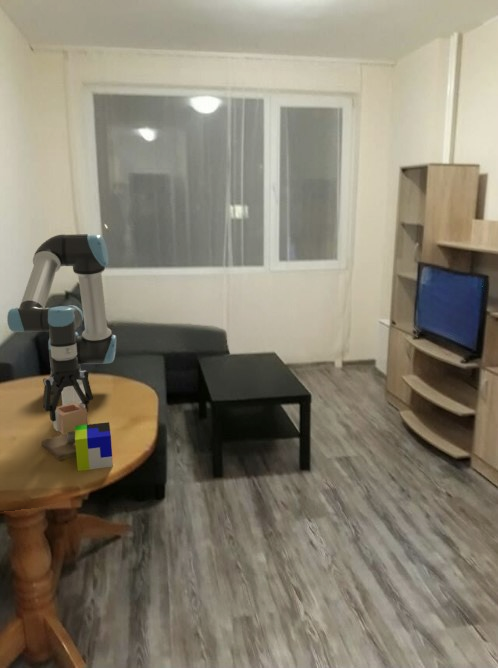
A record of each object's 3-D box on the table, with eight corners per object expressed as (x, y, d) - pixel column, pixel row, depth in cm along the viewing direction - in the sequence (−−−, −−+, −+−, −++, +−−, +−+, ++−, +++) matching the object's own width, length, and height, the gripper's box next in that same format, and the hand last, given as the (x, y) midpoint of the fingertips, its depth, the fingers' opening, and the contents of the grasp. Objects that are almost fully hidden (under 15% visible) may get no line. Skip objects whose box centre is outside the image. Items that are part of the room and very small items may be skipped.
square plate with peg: (83, 432, 185) (81, 409, 183) (102, 446, 175) (100, 422, 173) (42, 445, 176) (39, 420, 174) (60, 460, 166) (57, 434, 164)
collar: (77, 419, 179) (75, 402, 178) (87, 427, 173) (86, 409, 172) (53, 425, 174) (51, 408, 173) (63, 433, 168) (62, 415, 167)
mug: (84, 421, 194) (82, 389, 191) (59, 423, 193) (56, 391, 190) (88, 408, 206) (85, 378, 203) (64, 410, 204) (61, 379, 201)
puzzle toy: (112, 466, 163) (110, 435, 160) (77, 471, 160) (75, 439, 158) (111, 451, 172) (109, 422, 170) (77, 455, 169) (75, 425, 167)
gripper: (35, 366, 159) (42, 439, 164) (101, 353, 172) (106, 420, 178) (25, 361, 164) (33, 431, 170) (90, 348, 177) (95, 414, 183)
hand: (70, 425), depth 174 cm, fingers closed on collar, 8 cm apart
